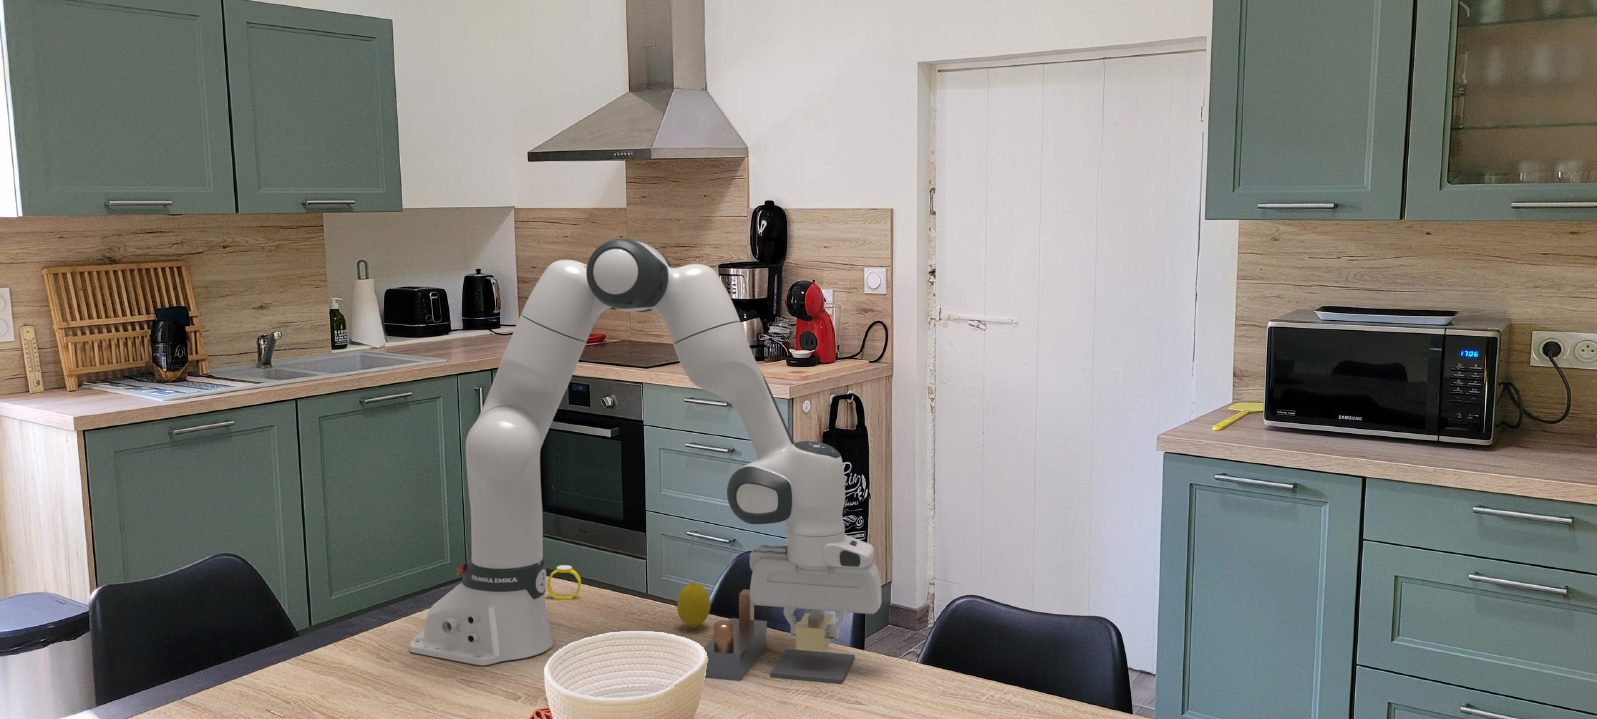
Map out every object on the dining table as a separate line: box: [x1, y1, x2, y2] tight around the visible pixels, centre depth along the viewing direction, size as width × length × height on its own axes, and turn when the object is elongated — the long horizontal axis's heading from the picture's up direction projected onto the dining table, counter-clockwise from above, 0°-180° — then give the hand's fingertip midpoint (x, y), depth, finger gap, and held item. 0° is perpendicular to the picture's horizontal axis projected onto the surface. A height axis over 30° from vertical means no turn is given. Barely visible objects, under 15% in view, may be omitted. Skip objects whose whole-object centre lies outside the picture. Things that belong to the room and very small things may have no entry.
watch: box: [546, 564, 582, 600], centre depth 212 cm, size 6×3×6 cm, turn 92°
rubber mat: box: [769, 648, 856, 685], centre depth 179 cm, size 11×11×1 cm
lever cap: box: [795, 609, 834, 652], centre depth 178 cm, size 4×7×4 cm, turn 168°
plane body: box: [703, 588, 768, 681], centre depth 181 cm, size 6×16×9 cm, turn 167°
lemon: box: [676, 581, 711, 629], centre depth 196 cm, size 6×6×8 cm
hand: (814, 636), depth 178 cm, fingers closed on lever cap, 4 cm apart
